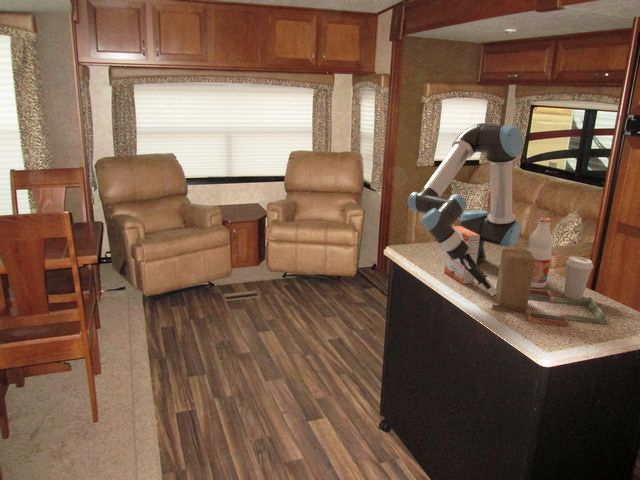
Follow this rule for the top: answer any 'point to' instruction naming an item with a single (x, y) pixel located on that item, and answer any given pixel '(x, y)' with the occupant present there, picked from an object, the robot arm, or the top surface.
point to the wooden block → (515, 278)
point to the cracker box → (455, 266)
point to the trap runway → (552, 319)
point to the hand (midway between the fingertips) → (494, 293)
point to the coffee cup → (577, 276)
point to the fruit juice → (541, 251)
